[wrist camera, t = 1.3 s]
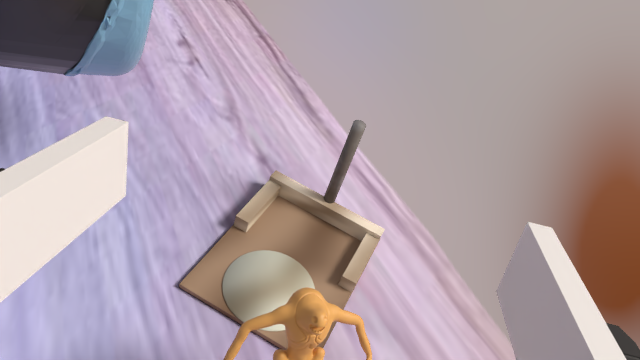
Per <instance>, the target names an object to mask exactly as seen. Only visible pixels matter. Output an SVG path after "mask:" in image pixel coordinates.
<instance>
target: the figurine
mask: <svg viewBox="0 0 640 360" xmlns="http://www.w3.org/2000/svg"><path fill="white" fill-rule="evenodd" d="M334 321H337V322H341V323H346V324H351V325H355V326H356V332H357V334H358V337H359V341H360V344H361V346H362V348H363V350H364V352H365V353H366V355H367V359H366V360H372V352H371V348H370V343H369V340H368V338H367V336H366V333H365V329H364V323H363V320H362V318H361V317H360V316H358V315H356V314H354V313H351V312H349V311H346V310H342V309H341V308H339V307H338V306H336V305H334V304H331V303H328V302H327V301H326V300H325V299H324V297H323V296H322V294H321V293H320V292H319V291H317V290H315V289H313V288H308V287H306V288H302V289H299V290H297V291H296V292H295V293H293V294H292V296H291V297H290V299H289V300H288V302H287V303H286V304H285V305H283V306H280V307H278V308H276V309H275V310H273V311H272V312H269V313H266V314H263V315H260V316H257V317H255V318H252V319H250V320H248V321H246V322H244V323H243V324H242V325H241V327H240V328H239V331H238V333H237V335H236V338H235V339H234V341H233V343H232V344H231V346H230V348H229V349H228V351H227V353H226V356H225V358H224V360H233V359H234V358H235V356H236V355H237V353H238V352H239V350H240V348H241V345H242V344H243V342H244V341H245V339H246V338H247V336H248V334H249V332H250V331H252V330H258V329H262V328H266V327H269V326H273V325H276V324H283V325H285V331H286V335H287V340H288V348H287V349H286V350H282V349H278V350H276V351H275V352H274V354H273V360H323V358H324V355H325V351H324V349H323V348H321V347H316V346H317V345H318V344H320V343H321V342H322V341H323V340H324V339H325V338H326V336H327V334H328V332H329V330H330V327H331V325H332V322H334Z"/></svg>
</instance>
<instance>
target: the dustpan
mask: <svg viewBox="0 0 640 360" xmlns="http://www.w3.org/2000/svg"><path fill="white" fill-rule="evenodd" d="M365 127H366V124H365V123H364V122H363V121H360V120H355V121H354V123H353V125H352V127H351V130H350V133H349V135H348V138H347V140H346V143H345V145H344V148H343V150H342V153H341V155H340V158H339V160H338V163H337V165H336V168H335V170H334V173H333V175H332V178H331V181H330V183H329V186H328V188H327V191H326V193H325V196H322V195H320V194H318V193H317V192H315V191H313V190H311V189H309V188H307V187H306V186H304V185H302V184H300V183H298V182H296V181H294V180H293V179H291V178H289V177H287V176H285V175H283V174H282V173H280V172H278V171H275V172H274V173H273V174H272V175H271V176H270V179H269V181H268V182H267V183H266V184H265V185H264V186H263V187H262V188H261V189H260V190H259V191H258V192H257V194H256V195H255V196H254V197H253V198H252V199H251V200H250V201H249V202H248V203H247V204H246V205H245V206H244V208H243V209H242V210H241V211H240V212H239V213H238V214H237V215H236V217H235V222H234V225H233V226H232V227H231V228H230V229H229V230H228V231H227V232H226V233H225V235H224V236H223V237H222V238H221V239H220V240H219V241H218V242H217V243H216V244H215V246H214V247H213V248H212V249H211V250H210V251H209V252H208V253H207V254H206V255H205V256H204V258H203V259H202V260H201V261H200V262H199V263H198V264H197V265H196V266H195V267H194V269H193V270H192V271H191V272H190V273H189V274H188V275H187V276H186V277H185V278H184V279H183V281H182V282H181V283H180V284H179V287H180V288H181V289H183V290H185V291H186V292H188V293H190V294H191V295H193V296H194V297H196V298H198V299H199V300H201V301H203V302H204V303H206V304H208V305H209V306H211V307H213V308H214V309H216V310H218V311H219V312H221V313H223V314H224V315H226V316H228V317H229V318H231V319H233V320H234V321H236V322H238V323H239V324H241V325H242V324H243V323H244V322H246V321H248V320H250V319H252V318H255V317H257V316H260V315H263V314H266V313H269V312H272V311H273V310H275V309H276V308H278V307H280V306H283V305H285V304H286V303H287V302H288V300H289V299H290V297H291V296H292V294H293V293H295V292H296V291H297V290H299V289H302V288H306V287H308V288H313V289H315V290H317V291H319V292H320V293H321V294H322V296H323V297H324V299H325V300H326V301H327V302H328V303H331V304H334V305H336V306H338V307H339V308H341V309H342V310H343V309H344V307H345V305H346V303H347V301H348V299H349V297H350V295H351V294H352V292H353V290H354V288H355V286H356V284H357V282H358V280H359V278H360V276H361V274H362V272H363V271H364V269H365V267H366V265H367V263H368V261H369V259H370V257H371V255H372V253H373V251H374V249H375V247H376V246H377V244H378V242H379V240H380V237H381V235H382V233H383V231H384V230H385V229H383V228H381V227H379V226H378V225H376V224H374V223H372V222H370V221H368V220H367V219H365V218H363V217H361V216H359V215H357V214H355V213H354V212H352V211H350V210H348V209H346V208H344V207H343V206H341V205H339V204H337V203H335V202H334V201H335V199H336V197H337V194H338V192H339V190H340V187H341V185H342V182H343V180H344V178H345V175H346V173H347V170H348V168H349V166H350V163H351V161H352V159H353V156H354V154H355V151H356V149H357V147H358V144H359V142H360V139H361V137H362V135H363V132H364V130H365ZM336 322H337V321H334V322H332V325H331V327H330V330H329V332H328V334H327V336H326V338H325V339H324V340H323V341H322V342H321V343H320V344H318V345H317V346H316V347H321V348H323V347H324V345H325V343H326V341H327V340H328V338H329V336H330V334H331V332H332V330H333V328H334V326H335V324H336ZM252 332H254V333H256V334H257V335H259V336H261V337H262V338H264V339H266V340H267V341H269V342H271V343H272V344H274V345H276V346H277V347H279V348H281V349H282V350H286V349H287V348H288V340H287V335H286V331H285V325H283V324H276V325H273V326H269V327H266V328H262V329H258V330H252Z"/></svg>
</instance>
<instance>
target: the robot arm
mask: <svg viewBox="0 0 640 360" xmlns="http://www.w3.org/2000/svg"><path fill="white" fill-rule="evenodd" d="M153 2H154V0H0V66H3V67H11V68H18V69H26V70H34V71H42V72H50V73H58V74H64V75H65V76H75V75H78V74H86V75H105V76H118V75H123V74H126V73H128V72H129V71H131V70H132V69H133V68H134V67H135V66H136V65H137V64H138V62H139V60H140V58H141V55H142V52H143V49H144V45H145V41H146V37H147V33H148V28H149V23H150V18H151V13H152V8H153ZM127 146H128V122H126V121H122V120H118V119H114V118H110V117H104V118H102V119H100V120H98V121H96V122H95V123H93V124H91V125H89V126H87V127H85V128H83V129H81V130H79V131H77V132H76V133H74V134H72V135H70V136H68V137H66V138H64V139H62V140H60V141H58V142H57V143H55V144H53V145H51V146H49V147H47V148H45V149H43V150H41V151H39V152H38V153H36V154H34V155H32V156H30V157H28V158H26V159H24V160H22V161H20V162H19V163H17V164H15V165H13V166H11V167H9V168H7V169H4V168H1V169H0V302H1V301H3V300H4V299H5V298H6V297H7V296H8V295H10V294H11V293H12V292H13V291H14V290H15V289H17V288H18V287H19V286H20V285H21V284H22V283H24V282H25V281H26V280H27V279H28V278H30V277H31V276H32V275H33V274H34V273H35V272H37V271H38V270H39V269H40V268H41V267H42V266H44V265H45V264H46V263H47V262H48V261H50V260H51V259H52V258H53V257H54V256H55V255H57V254H58V253H59V252H60V251H61V250H62V249H64V248H65V247H66V246H67V245H68V244H69V243H71V242H72V241H73V240H74V239H75V238H77V237H78V236H79V235H80V234H81V233H82V232H84V231H85V230H86V229H87V228H88V227H89V226H91V225H92V224H93V223H94V222H95V221H97V220H98V219H99V218H100V217H101V216H102V215H104V214H105V213H106V212H107V211H108V210H109V209H111V208H112V207H113V206H114V205H115V204H116V203H118V202H119V201H120V200H121V199H122V198H124V197H125V196H126V175H127ZM497 295H498V299H499V302H500V305H501V309H502V312H503V316H504V319H505V323H506V326H507V330H508V333H509V336H510V340H511V343H512V347H513V350H514V354H515V357H516V360H640V350H639V348H638V346H637V345H636V343H635V342H634V341H633V340H632V339H631V338H630V337H629V336H628V335H627V334H626V333H625V332H624V331H623V330H622V329H621V328H619V326H616V325H612V324H608V323H605V321H604V319H603V317H602V315H601V314H600V312H599V310H598V308H597V307H596V305H595V303H594V302H593V300H592V298H591V296H590V294H589V293H588V291H587V289H586V287H585V285H584V284H583V282H582V280H581V278H580V277H579V275H578V273H577V271H576V270H575V268H574V266H573V264H572V263H571V261H570V259H569V258H568V255H567V254H566V252H565V250H564V248H563V247H562V245H561V243H560V241H559V240H558V238H557V236H556V234H555V233H554V231H553V229H552V228H550V227H546V226H542V225H538V224H534V223H530V222H527V224H526V227H525V229H524V231H523V233H522V235H521V238H520V240H519V242H518V245H517V247H516V249H515V251H514V253H513V256H512V258H511V260H510V262H509V264H508V267H507V269H506V271H505V273H504V276H503V278H502V280H501V282H500V284H499V287H498V289H497Z"/></svg>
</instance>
